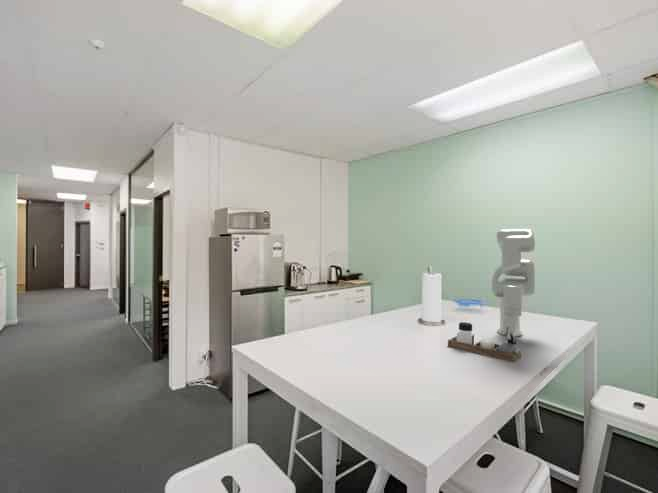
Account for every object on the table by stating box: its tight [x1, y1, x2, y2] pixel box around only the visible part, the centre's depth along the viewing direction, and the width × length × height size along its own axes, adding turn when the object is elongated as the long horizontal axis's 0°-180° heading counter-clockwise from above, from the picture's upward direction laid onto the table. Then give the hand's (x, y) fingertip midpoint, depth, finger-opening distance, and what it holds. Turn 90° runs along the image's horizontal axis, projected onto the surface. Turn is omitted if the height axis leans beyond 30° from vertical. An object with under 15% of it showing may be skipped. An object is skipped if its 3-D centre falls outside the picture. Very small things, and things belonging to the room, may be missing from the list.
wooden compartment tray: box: [447, 335, 522, 363], centre depth 151 cm, size 11×30×3 cm, turn 45°
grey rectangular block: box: [498, 341, 517, 355], centre depth 144 cm, size 9×5×5 cm, turn 135°
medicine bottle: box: [456, 321, 475, 345], centre depth 157 cm, size 7×7×12 cm
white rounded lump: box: [479, 339, 496, 350], centre depth 150 cm, size 6×6×5 cm
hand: (511, 349), depth 149 cm, fingers closed
